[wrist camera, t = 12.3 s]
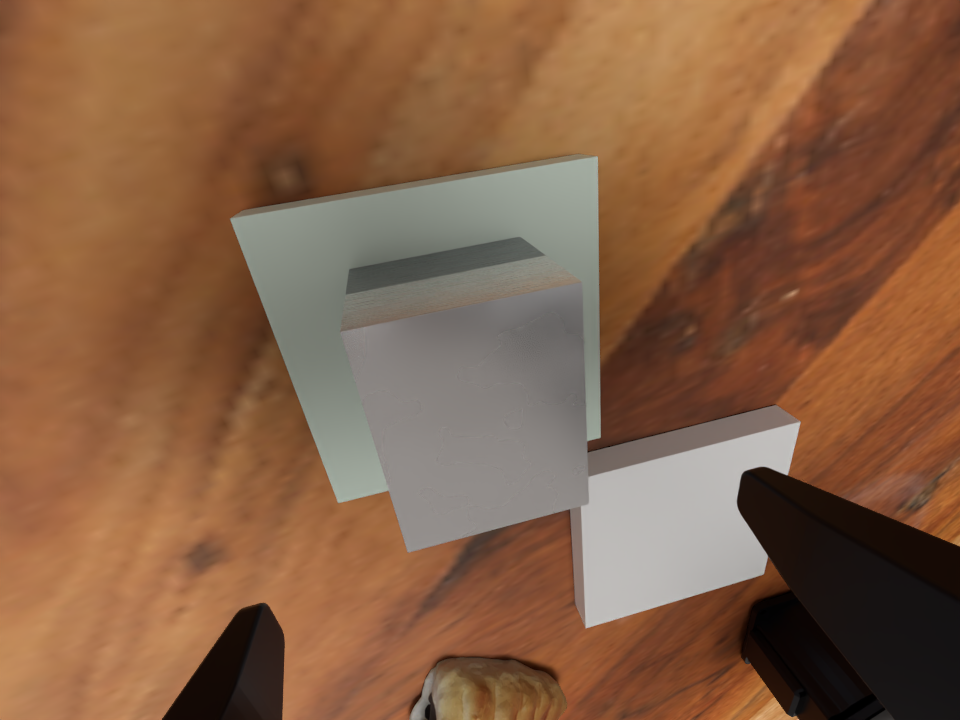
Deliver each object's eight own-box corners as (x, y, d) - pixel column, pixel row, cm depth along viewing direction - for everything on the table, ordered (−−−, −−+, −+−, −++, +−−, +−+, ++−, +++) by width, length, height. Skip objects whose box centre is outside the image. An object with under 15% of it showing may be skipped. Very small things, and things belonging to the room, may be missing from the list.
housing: (520, 236, 15) (582, 281, 11) (536, 413, 18) (589, 504, 14) (349, 269, 14) (339, 331, 10) (398, 446, 18) (408, 552, 13)
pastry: (573, 650, 29) (599, 717, 26) (534, 712, 32) (553, 781, 29) (432, 649, 26) (441, 725, 23) (401, 718, 29) (405, 795, 26)
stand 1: (578, 153, 16) (597, 156, 14) (586, 418, 21) (600, 437, 19) (242, 210, 14) (230, 218, 13) (340, 477, 19) (338, 503, 18)
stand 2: (776, 404, 23) (800, 421, 22) (745, 553, 28) (763, 574, 27) (567, 457, 22) (579, 478, 20) (575, 603, 27) (585, 628, 25)
